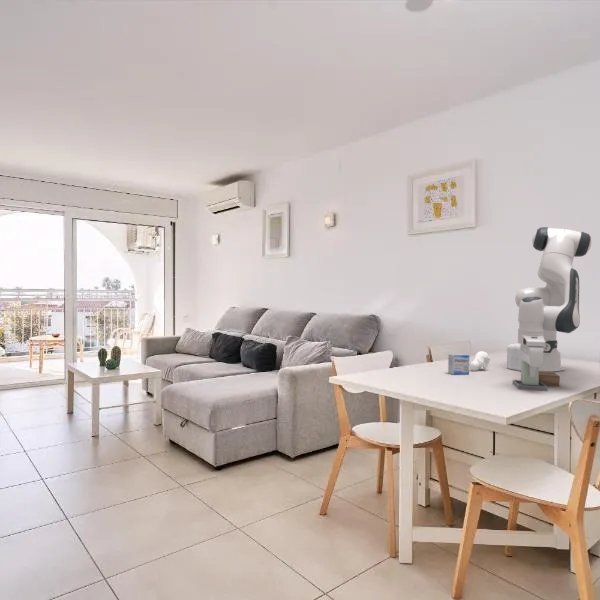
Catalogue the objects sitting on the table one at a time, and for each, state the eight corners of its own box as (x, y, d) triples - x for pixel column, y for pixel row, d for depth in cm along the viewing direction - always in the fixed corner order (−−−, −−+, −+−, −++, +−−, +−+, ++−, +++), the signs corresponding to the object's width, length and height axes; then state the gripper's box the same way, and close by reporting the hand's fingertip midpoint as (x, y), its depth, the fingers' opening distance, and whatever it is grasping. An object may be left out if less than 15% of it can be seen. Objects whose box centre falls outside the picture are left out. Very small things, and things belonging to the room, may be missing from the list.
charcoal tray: (512, 383, 181) (512, 380, 181) (540, 385, 178) (540, 381, 178) (518, 389, 171) (518, 385, 171) (547, 390, 169) (547, 386, 169)
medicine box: (453, 375, 199) (453, 355, 199) (447, 373, 203) (448, 353, 203) (469, 374, 201) (469, 355, 200) (463, 372, 205) (464, 353, 205)
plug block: (521, 381, 178) (521, 361, 178) (535, 382, 177) (535, 361, 176) (523, 384, 173) (524, 363, 173) (538, 385, 172) (538, 363, 172)
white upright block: (530, 371, 211) (531, 344, 211) (524, 372, 209) (525, 345, 209) (511, 368, 220) (511, 342, 220) (505, 368, 218) (505, 342, 218)
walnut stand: (525, 379, 190) (525, 370, 190) (552, 381, 187) (552, 371, 187) (531, 384, 180) (531, 374, 180) (559, 386, 178) (559, 375, 177)
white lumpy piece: (490, 351, 214) (477, 355, 206) (491, 369, 214) (478, 374, 207) (478, 349, 218) (464, 354, 211) (478, 367, 219) (465, 372, 211)
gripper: (516, 336, 185) (515, 370, 186) (527, 341, 165) (526, 379, 166) (533, 337, 184) (532, 371, 184) (546, 342, 164) (546, 380, 164)
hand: (529, 375), depth 175 cm, fingers closed on plug block, 5 cm apart
